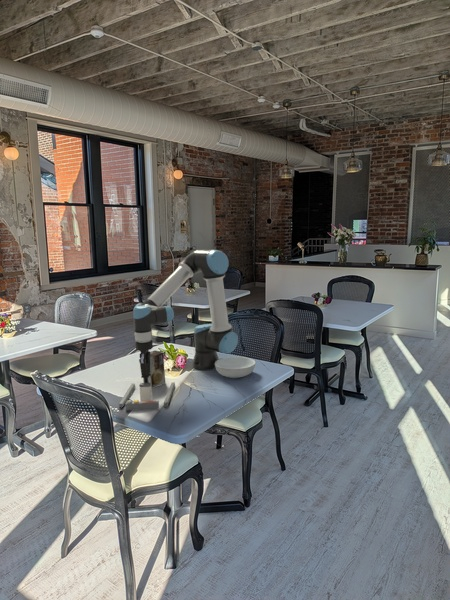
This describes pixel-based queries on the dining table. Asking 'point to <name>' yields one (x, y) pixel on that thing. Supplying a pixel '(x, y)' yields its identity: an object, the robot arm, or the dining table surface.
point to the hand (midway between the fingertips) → (147, 390)
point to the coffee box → (157, 369)
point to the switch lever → (145, 392)
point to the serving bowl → (235, 366)
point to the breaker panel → (144, 404)
